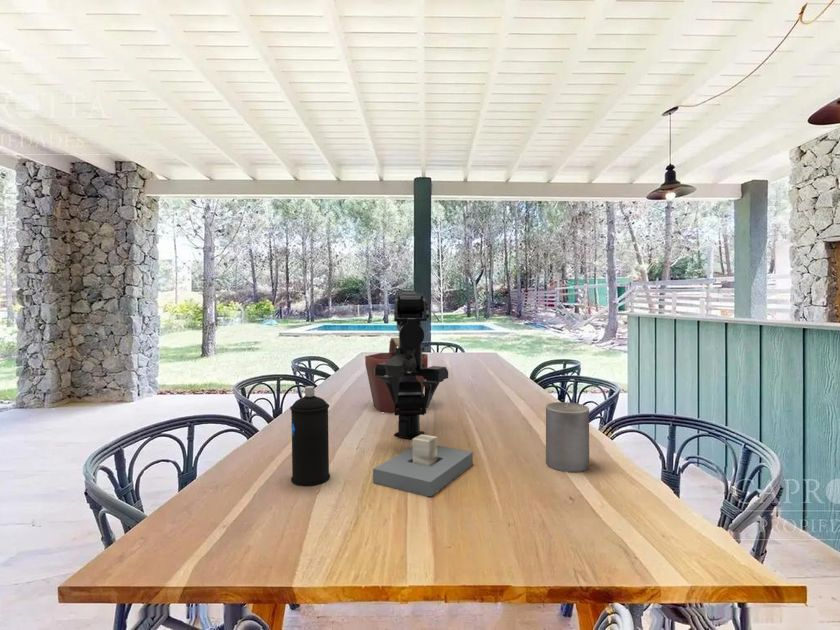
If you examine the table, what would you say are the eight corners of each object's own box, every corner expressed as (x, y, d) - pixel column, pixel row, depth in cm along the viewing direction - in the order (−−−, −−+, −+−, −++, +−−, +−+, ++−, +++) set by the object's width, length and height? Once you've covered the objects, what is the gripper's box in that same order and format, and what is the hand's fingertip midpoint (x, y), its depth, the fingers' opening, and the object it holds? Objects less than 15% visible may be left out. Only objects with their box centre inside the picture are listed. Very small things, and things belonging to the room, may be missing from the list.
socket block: (421, 454, 113) (421, 442, 113) (472, 464, 106) (472, 452, 106) (373, 482, 96) (372, 468, 96) (430, 497, 88) (430, 482, 88)
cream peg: (421, 468, 103) (421, 434, 103) (437, 472, 101) (437, 436, 101) (412, 474, 100) (412, 439, 100) (428, 478, 98) (428, 441, 98)
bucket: (427, 416, 149) (427, 341, 148) (360, 417, 149) (360, 341, 148) (427, 400, 173) (427, 334, 172) (370, 400, 173) (369, 335, 172)
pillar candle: (558, 454, 112) (558, 394, 112) (596, 464, 105) (596, 400, 105) (537, 465, 106) (537, 401, 105) (577, 476, 99) (577, 408, 98)
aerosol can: (337, 473, 101) (336, 384, 100) (317, 488, 93) (315, 391, 92) (305, 469, 103) (304, 382, 102) (283, 483, 95) (281, 389, 95)
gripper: (360, 344, 111) (361, 407, 112) (426, 348, 102) (426, 417, 102) (386, 340, 121) (387, 398, 121) (449, 344, 111) (449, 407, 112)
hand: (410, 405), depth 114 cm, fingers open, 9 cm apart
